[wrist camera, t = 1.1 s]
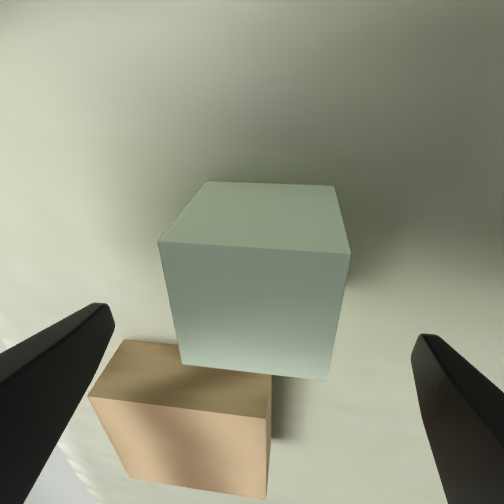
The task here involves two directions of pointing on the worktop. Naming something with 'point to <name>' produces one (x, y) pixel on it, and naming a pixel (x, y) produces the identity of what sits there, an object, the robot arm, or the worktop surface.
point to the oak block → (186, 420)
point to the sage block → (257, 277)
